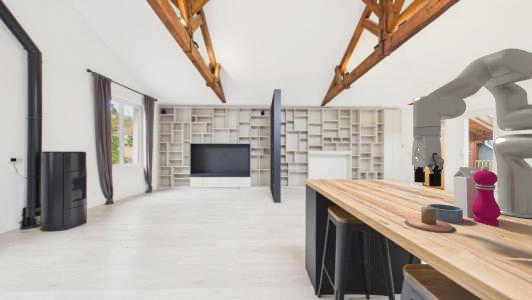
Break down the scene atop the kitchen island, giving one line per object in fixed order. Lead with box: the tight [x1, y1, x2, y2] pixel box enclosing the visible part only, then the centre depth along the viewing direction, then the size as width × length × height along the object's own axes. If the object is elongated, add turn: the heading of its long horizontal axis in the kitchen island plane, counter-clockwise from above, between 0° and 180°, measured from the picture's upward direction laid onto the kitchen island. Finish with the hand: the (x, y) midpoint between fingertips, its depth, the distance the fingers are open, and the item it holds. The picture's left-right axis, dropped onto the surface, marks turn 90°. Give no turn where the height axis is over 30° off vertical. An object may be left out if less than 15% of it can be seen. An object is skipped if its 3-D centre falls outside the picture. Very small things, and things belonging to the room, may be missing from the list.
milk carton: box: [452, 166, 482, 219], centre depth 84 cm, size 7×7×19 cm
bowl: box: [427, 203, 464, 224], centre depth 81 cm, size 10×10×4 cm
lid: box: [406, 206, 453, 232], centre depth 73 cm, size 12×12×6 cm
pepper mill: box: [472, 165, 502, 227], centre depth 76 cm, size 7×7×20 cm
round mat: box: [403, 219, 457, 234], centre depth 73 cm, size 14×14×1 cm
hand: (426, 184), depth 73 cm, fingers open, 9 cm apart
